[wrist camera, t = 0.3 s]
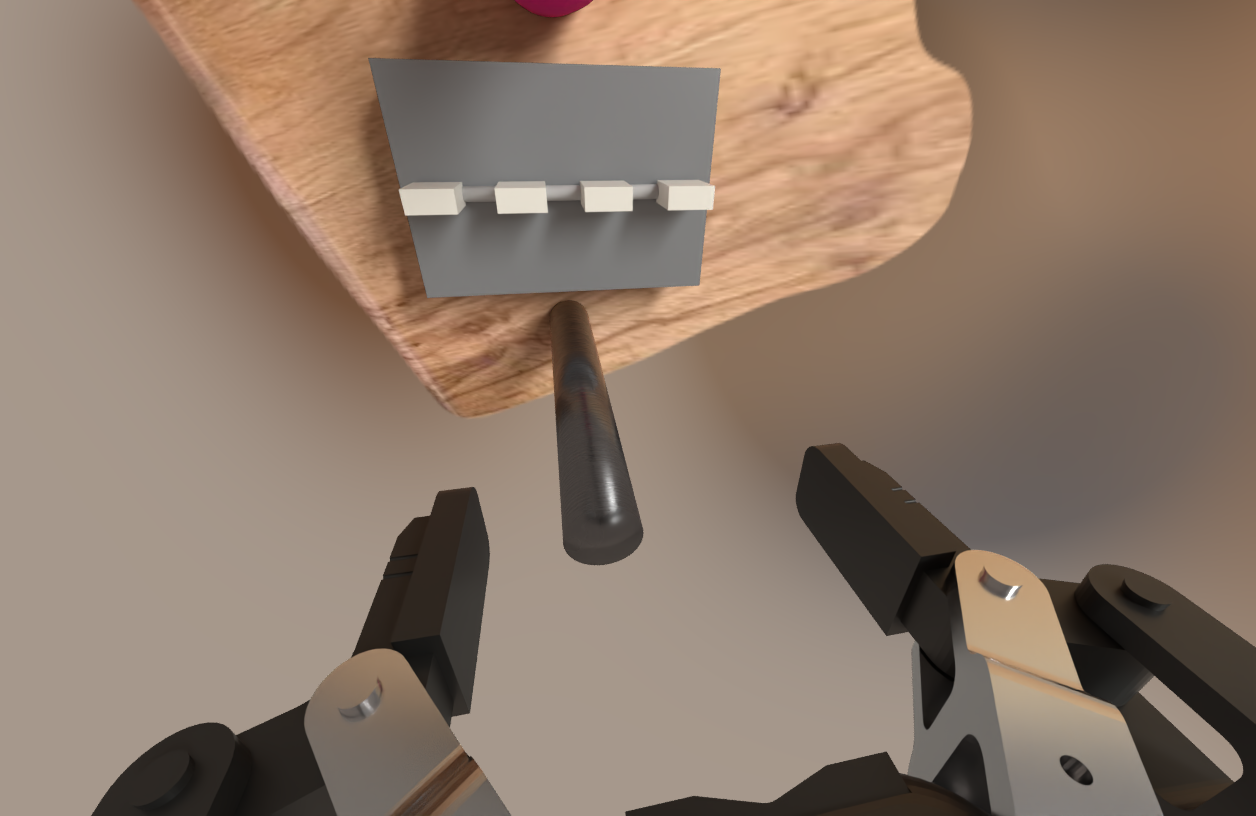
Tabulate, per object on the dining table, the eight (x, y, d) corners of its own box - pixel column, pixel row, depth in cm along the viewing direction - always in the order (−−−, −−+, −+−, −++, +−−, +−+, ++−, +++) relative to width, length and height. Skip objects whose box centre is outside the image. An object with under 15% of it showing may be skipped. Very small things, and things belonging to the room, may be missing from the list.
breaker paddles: (413, 181, 24) (398, 189, 22) (697, 179, 27) (715, 185, 24) (419, 205, 25) (405, 215, 22) (696, 200, 28) (712, 209, 25)
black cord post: (558, 294, 33) (583, 501, 15) (594, 309, 34) (657, 519, 16) (543, 328, 35) (550, 557, 16) (579, 341, 36) (621, 570, 18)
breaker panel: (390, 66, 25) (368, 57, 21) (698, 74, 27) (720, 68, 24) (438, 279, 31) (427, 297, 28) (683, 269, 34) (699, 285, 31)
